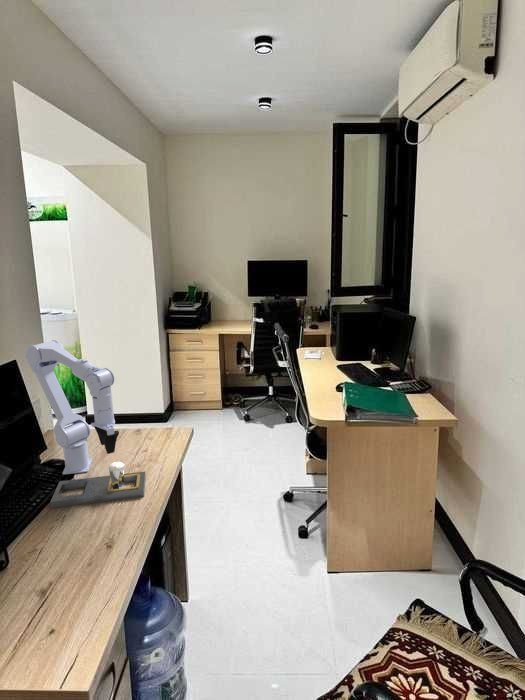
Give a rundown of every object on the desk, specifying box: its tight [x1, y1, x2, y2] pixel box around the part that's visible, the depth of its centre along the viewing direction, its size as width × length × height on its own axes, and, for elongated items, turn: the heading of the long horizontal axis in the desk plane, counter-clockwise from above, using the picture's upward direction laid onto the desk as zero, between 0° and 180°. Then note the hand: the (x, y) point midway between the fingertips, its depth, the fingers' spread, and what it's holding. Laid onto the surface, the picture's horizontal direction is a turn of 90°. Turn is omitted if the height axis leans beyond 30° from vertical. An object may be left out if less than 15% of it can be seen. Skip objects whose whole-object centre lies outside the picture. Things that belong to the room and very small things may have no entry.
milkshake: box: [108, 461, 126, 490], centre depth 140 cm, size 4×5×10 cm
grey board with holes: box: [49, 471, 147, 509], centre depth 141 cm, size 12×26×2 cm, turn 101°
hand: (107, 448), depth 147 cm, fingers open, 7 cm apart
